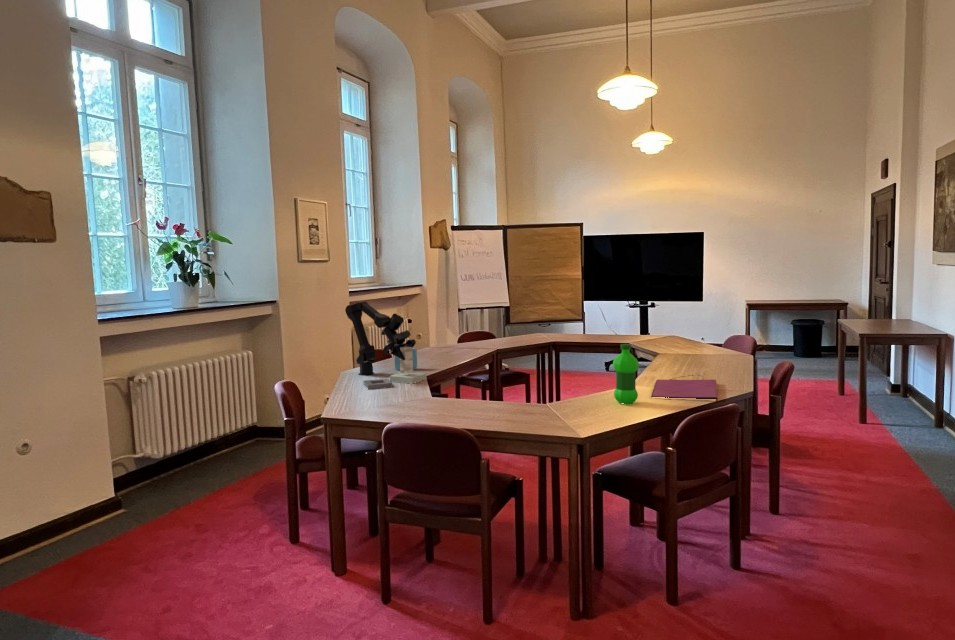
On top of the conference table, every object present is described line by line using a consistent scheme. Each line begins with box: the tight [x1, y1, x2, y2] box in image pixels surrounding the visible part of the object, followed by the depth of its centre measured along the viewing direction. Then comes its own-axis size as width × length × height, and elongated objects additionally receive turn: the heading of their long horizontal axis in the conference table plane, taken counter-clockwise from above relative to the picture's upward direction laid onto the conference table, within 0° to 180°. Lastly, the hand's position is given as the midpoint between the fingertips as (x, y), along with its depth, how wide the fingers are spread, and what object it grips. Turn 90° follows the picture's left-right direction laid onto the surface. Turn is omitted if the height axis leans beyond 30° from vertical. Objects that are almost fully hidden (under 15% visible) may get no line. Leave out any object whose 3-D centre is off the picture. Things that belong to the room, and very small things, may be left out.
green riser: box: [389, 372, 427, 384], centre depth 339 cm, size 14×12×3 cm
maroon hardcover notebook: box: [650, 374, 718, 400], centre depth 300 cm, size 40×4×27 cm
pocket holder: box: [363, 378, 393, 390], centre depth 328 cm, size 12×12×2 cm
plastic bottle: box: [612, 343, 640, 405], centre depth 277 cm, size 10×10×25 cm
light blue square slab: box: [393, 347, 418, 371], centre depth 370 cm, size 12×4×12 cm, turn 88°
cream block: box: [399, 346, 414, 374], centre depth 337 cm, size 4×4×13 cm
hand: (408, 359), depth 336 cm, fingers closed on cream block, 4 cm apart
